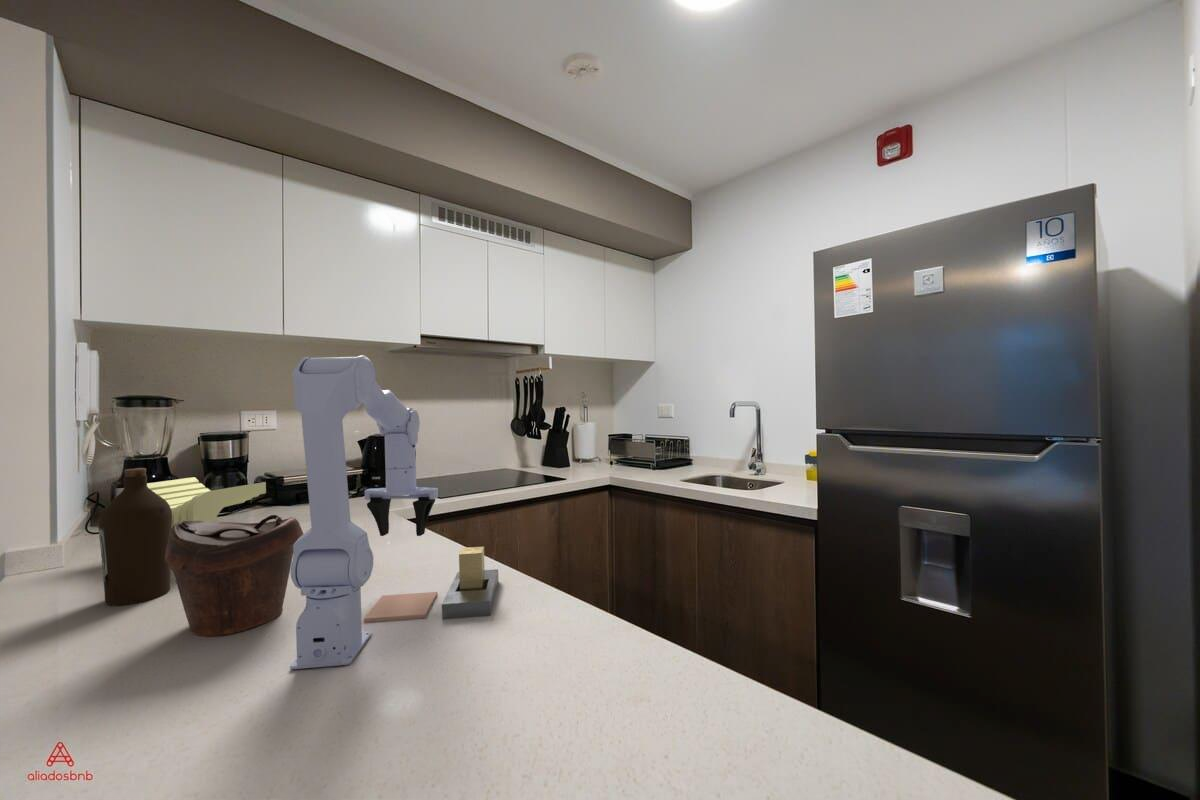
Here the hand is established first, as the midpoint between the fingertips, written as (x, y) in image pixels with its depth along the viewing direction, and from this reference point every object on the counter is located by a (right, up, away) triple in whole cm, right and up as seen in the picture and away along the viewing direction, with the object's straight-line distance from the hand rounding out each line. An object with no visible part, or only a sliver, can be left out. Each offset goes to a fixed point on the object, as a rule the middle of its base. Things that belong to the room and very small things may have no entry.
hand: (402, 534), depth 101 cm
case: (-22, -11, -14) cm, 29 cm away
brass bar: (+16, -10, -8) cm, 21 cm away
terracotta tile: (+5, -10, -11) cm, 16 cm away
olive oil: (-51, -12, -3) cm, 52 cm away
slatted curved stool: (-60, -12, +23) cm, 66 cm away
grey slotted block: (+16, -10, -8) cm, 21 cm away
